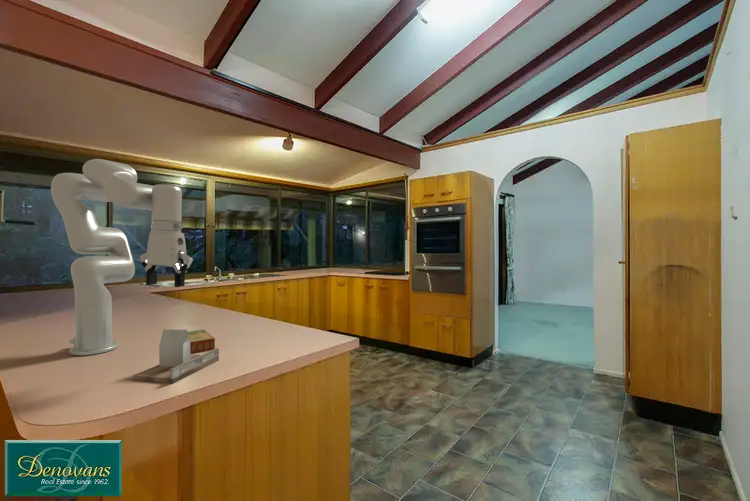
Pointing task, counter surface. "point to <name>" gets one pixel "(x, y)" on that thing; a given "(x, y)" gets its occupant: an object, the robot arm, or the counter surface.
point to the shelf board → (178, 368)
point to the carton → (201, 341)
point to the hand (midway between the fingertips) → (165, 285)
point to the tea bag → (174, 347)
